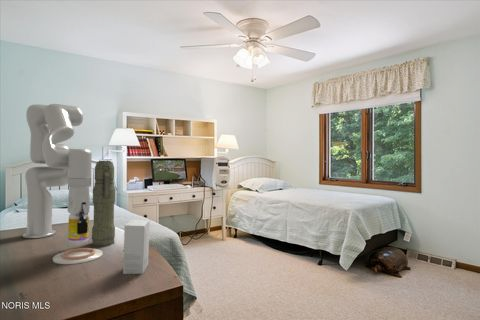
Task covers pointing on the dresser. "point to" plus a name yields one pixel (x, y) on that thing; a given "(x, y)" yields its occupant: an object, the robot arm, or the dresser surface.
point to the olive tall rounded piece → (103, 204)
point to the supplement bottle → (72, 230)
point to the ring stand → (77, 256)
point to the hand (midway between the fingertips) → (78, 231)
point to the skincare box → (136, 247)
